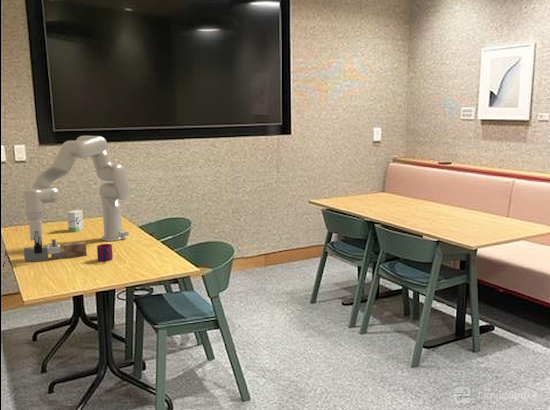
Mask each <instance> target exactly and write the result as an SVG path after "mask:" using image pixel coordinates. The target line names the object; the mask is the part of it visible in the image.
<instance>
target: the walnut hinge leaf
mask: <svg viewBox="0 0 550 410" xmlns="http://www.w3.org/2000/svg"><path fill="white" fill-rule="evenodd" d="M51 242H52V243H51V245H52V246H53V247H57V239H56V238H54V239H53V238H52V239H51ZM85 256H86V257H87V244H86V241H82V242H81V241H80V242H71V243H69V242H68V243H63V250H60V253H55V254H50V257H51V260H56V259H62V258H65V259H66V258H67V259H68V258H76V257H85Z"/></svg>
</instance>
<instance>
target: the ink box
mask: <svg viewBox="0 0 550 410" xmlns="http://www.w3.org/2000/svg"><path fill="white" fill-rule="evenodd" d="M67 223H68V224H67V225H68V226H67V227H68V232H71V233H76V232H80V231H82V230H84V215H83V209H73V210H70V211H68V212H67Z"/></svg>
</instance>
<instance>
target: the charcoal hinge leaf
mask: <svg viewBox="0 0 550 410" xmlns="http://www.w3.org/2000/svg"><path fill="white" fill-rule="evenodd" d="M56 245H57V247H53V246H52V244H50V245H49V244H48V245H42V253H39V254H35V252H34V246H32V247H30V246H29V247H24V248H23V256H24V257H23V258H24V263H32V262H31V261H33V262H42V261H49V255H51V254H55V253H60V251H61V244H60V243H59V244H57V243H56Z"/></svg>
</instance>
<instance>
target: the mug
mask: <svg viewBox="0 0 550 410" xmlns="http://www.w3.org/2000/svg"><path fill="white" fill-rule="evenodd" d="M96 253H97V255H96V256H97V261H98V262H110V261H113V259H114V257H113V245H112V244H111V243H104V244H103V243H102V244H101V243H100V244H97V246H96Z"/></svg>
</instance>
